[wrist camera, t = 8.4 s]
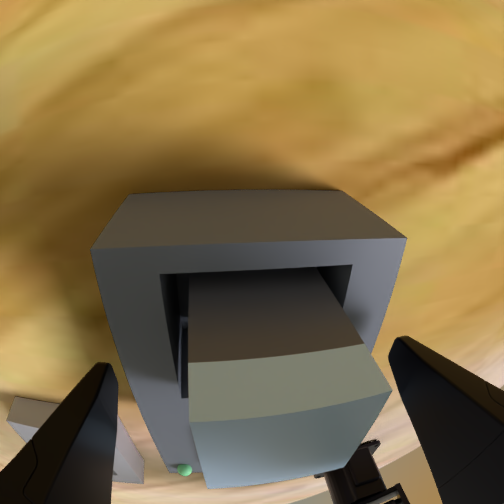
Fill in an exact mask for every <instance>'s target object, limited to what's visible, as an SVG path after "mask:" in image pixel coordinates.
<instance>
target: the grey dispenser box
mask: <svg viewBox="0 0 504 504" xmlns="http://www.w3.org/2000/svg"><path fill="white" fill-rule="evenodd" d="M406 240H407V238H406V237H405V236H404V235H403V234H401V233H400V232H399V231H397V230H396V229H395V228H393V227H392V226H391V225H389V224H388V223H387V222H385V221H384V220H383V219H381V218H380V217H379V216H377V215H376V214H374V213H373V212H372V211H370V210H369V209H368V208H366V207H365V206H363V205H362V204H360V203H359V202H358V201H356V200H355V199H353V198H352V197H350V196H349V195H348V194H346V193H345V192H343V191H330V190H206V191H179V192H159V193H142V194H129V195H128V196H127V198H126V199H125V200H124V202H123V203H122V204H121V206H120V207H119V208H118V210H117V211H116V213H115V214H114V215H113V217H112V218H111V220H110V221H109V222H108V224H107V225H106V227H105V228H104V230H103V231H102V232H101V234H100V235H99V237H98V238H97V240H96V241H95V243H94V244H93V246H92V247H91V249H90V251H91V256H92V260H93V265H94V269H95V274H96V278H97V282H98V286H99V290H100V294H101V298H102V302H103V305H104V309H105V313H106V316H107V320H108V323H109V326H110V330H111V333H112V336H113V339H114V342H115V345H116V348H117V351H118V354H119V357H120V360H121V363H122V366H123V369H124V371H125V374H126V377H127V380H128V382H129V385H130V387H131V390H132V393H133V395H134V398H135V400H136V402H137V405H138V407H139V410H140V412H141V414H142V417H143V419H144V421H145V423H146V426H147V428H148V430H149V432H150V434H151V437H152V439H153V441H154V443H155V445H156V447H157V449H158V451H159V453H160V455H161V457H162V459H163V461H164V463H165V465H166V467H167V469H168V471H169V473H179V474H180V475H182V476H188V475H190V474H191V473H193V472H202V468H201V465H200V461H199V457H198V454H197V450H196V446H195V442H194V439H193V435H192V431H191V427H190V423H189V391H188V310H189V275H190V273H197V272H220V271H242V270H263V269H282V268H300V267H316V268H317V270H318V271H319V273H320V274H321V276H322V278H323V279H324V281H325V282H326V284H327V285H328V287H329V288H330V290H331V291H332V293H333V294H334V296H335V297H336V299H337V301H338V302H339V304H340V305H341V307H342V308H343V310H344V312H345V313H346V315H347V316H348V318H349V319H350V321H351V323H352V324H353V326H354V327H355V329H356V331H357V332H358V334H359V335H360V337H361V339H362V340H363V342H364V343H365V345H366V347H367V348H368V350H369V352H370V353H372V350H373V347H374V345H375V342H376V339H377V336H378V334H379V331H380V328H381V325H382V322H383V319H384V316H385V313H386V310H387V307H388V304H389V301H390V298H391V295H392V291H393V288H394V285H395V281H396V278H397V274H398V271H399V267H400V264H401V260H402V256H403V252H404V248H405V244H406Z"/></svg>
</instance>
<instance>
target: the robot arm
mask: <svg viewBox="0 0 504 504" xmlns="http://www.w3.org/2000/svg"><path fill="white" fill-rule="evenodd" d="M388 360H389V363H390V366H391V369H392V372H393V375H394V378H395V381H396V384H397V387H398V391H399V393H400V396H401V399H402V401H403V404H404V406H405V408H406V410H407V413H408V415H409V417H410V420H411V422H412V424H413V427H414V429H415V432H416V434H417V436H418V439H419V441H420V444H421V446H422V449H423V451H424V454H425V456H426V459H427V461H428V464H429V466H430V469H431V472H432V475H433V477H434V480H435V483H436V486H437V488H438V492H439V494H440V497H441V500H442V503H443V504H504V391H503V390H501V389H499V388H497V387H496V386H494V385H492V384H490V383H489V382H487V381H485V380H483V379H482V378H480V377H478V376H476V375H475V374H473V373H471V372H470V371H468V370H466V369H464V368H463V367H461V366H459V365H457V364H456V363H454V362H452V361H451V360H449V359H447V358H445V357H444V356H442V355H440V354H438V353H437V352H435V351H433V350H431V349H430V348H428V347H426V346H424V345H423V344H421V343H419V342H418V341H416V340H414V339H412V338H411V337H409V336H401V337H397V338H396V339H395V340H394V343H393V345H392V348H391V350H390V352H389V355H388ZM117 415H118V381H117V378H116V376H115V373H114V371H113V368H112V366H111V364H110V363H105V362H98V363H96V364H95V365H94V366H93V367H92V368H91V369H90V371H89V372H88V373H87V374H86V375H85V376H84V377H83V378H82V380H81V381H80V382H79V383H78V384H77V385H76V386H75V387H74V389H73V390H72V391H71V392H70V393H69V394H68V395H67V397H66V398H65V399H64V400H63V401H62V402H61V403H60V405H59V406H58V407H57V408H56V409H55V410H54V412H53V413H52V414H51V415H50V416H49V417H48V419H47V420H46V421H45V422H44V423H43V424H42V426H41V427H40V428H39V429H38V430H37V432H36V433H35V434H34V435H33V436H32V439H30V440H29V441H28V442H27V443H26V445H25V446H24V447H23V448H22V449H21V451H20V452H19V453H18V454H17V455H16V456H15V457H14V458H13V459H12V460H11V462H10V463H9V464H8V465H7V466H6V467H5V468H4V469H3V470H2V471H1V472H0V504H111V491H112V477H113V466H114V456H115V446H116V438H117ZM380 444H381V443H380V441H379V440H378V441H374V442H371V443H368V444H365V445H361V446H358V448H357V449H356V451H355V452H354V454H353V455H352V457H351V458H350V459H349V461H348V462H347V464H346V465H345V466H344V467H343V468H339V469H335V470H331V471H327V472H323V473H319V474H315V475H314V478H321V477H325V480H326V483H327V486H328V489H329V492H330V495H331V498H332V501H333V504H380V503H382V502H384V501H386V500H389V499H391V498H393V497H395V496H397V498H398V499H396V500H391V501H389V502H386V503H384V504H410V503H409V501H408V499H407V497H406V495H405V493H404V491H403V489H402V487H401V485H400V483H398V484H396V485H395V486H393V487H391V488H389V489H387V488H386V486H385V484H384V482H383V480H382V477H381V474H380V472H379V470H378V467H377V465H376V463H375V461H374V458H373V456H372V455H373V453H374V452H375V451H376V449H377V448H378V447H379V446H380Z"/></svg>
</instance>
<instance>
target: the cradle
mask: <svg viewBox="0 0 504 504" xmlns="http://www.w3.org/2000/svg"><path fill="white" fill-rule="evenodd" d="M59 405H60V404H56V403H50V402H43V401H37V400H32V399H26V398H21V397H16V396H15V398H14V401H13V404H12V406H11V409H10V412H9V414H8V417H7V420H6V421H7V422H8V423H9V424H10V425H11V427H12V428H13V429H14V430H15V431H16V432H17V433H18V434H19V436H20V437H21V438H22V439H23V440H24V441H25V442H26V443H27V442H28V441H29V440H30V439H32V436H33V435H34V434H35V433H36V432H37V430H38V429H39V428H40V427H41V426H42V424H43V423H44V422H45V421H46V420H47V419H48V417H49V416H50V415H51V414H52V413H53V412H54V410H55V409H56V408H57V407H58V406H59ZM112 481H115V482H125V483H137V484H144V460H143V458H142V457H141V455H140V453H139V452H138V450H137V448H136V447H135V445H134V443H133V442H132V440H131V438H130V436H129V435H128V433H127V431H126V429H125V427H124V426H123V424H122V422H121V420H120V418H119V416H118V415H117V438H116V446H115V456H114V466H113V477H112Z"/></svg>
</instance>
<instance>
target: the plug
mask: <svg viewBox="0 0 504 504" xmlns="http://www.w3.org/2000/svg"><path fill="white" fill-rule="evenodd" d="M188 391H189V423H190V427H191V431H192V435H193V439H194V442H195V446H196V450H197V454H198V457H199V461H200V465H201V468H202V472H203V475H204V478H205V482H206V485H207V488H208V489H214V488H229V487H240V486H250V485H258V484H265V483H272V482H279V481H285V480H290V479H296V478H301V477H306V476H310V475H315V474H319V473H323V472H327V471H331V470H335V469H339V468H343V467H344V466H345V465H346V464H347V462H348V461H349V459H350V458H351V457H352V455H353V454H354V452H355V451H356V449H357V448H358V446H359V445H360V443H361V442H362V440H363V439H364V437H365V436H366V434H367V433H368V431H369V430H370V428H371V426H372V425H373V423H374V422H375V420H376V418H377V417H378V415H379V413H380V412H381V410H382V408H383V406H384V405H385V403H386V401H387V399H388V398H389V396H390V394H391V392H392V388H391V387H390V385H389V383H388V382H387V380H386V378H385V377H384V375H383V373H382V371H381V370H380V368H379V366H378V365H377V363H376V362H375V360H374V358H373V357H372V355H371V353H370V352H369V350H368V348H367V347H366V345H365V343H364V342H363V340H362V339H361V337H360V335H359V334H358V332H357V331H356V329H355V327H354V326H353V324H352V323H351V321H350V319H349V318H348V316H347V315H346V313H345V312H344V310H343V308H342V307H341V305H340V304H339V302H338V301H337V299H336V297H335V296H334V294H333V293H332V291H331V290H330V288H329V287H328V285H327V284H326V282H325V281H324V279H323V278H322V276H321V274H320V273H319V271H318V270H317V268H316V267H300V268H282V269H263V270H242V271H220V272H197V273H190V275H189V310H188Z"/></svg>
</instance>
